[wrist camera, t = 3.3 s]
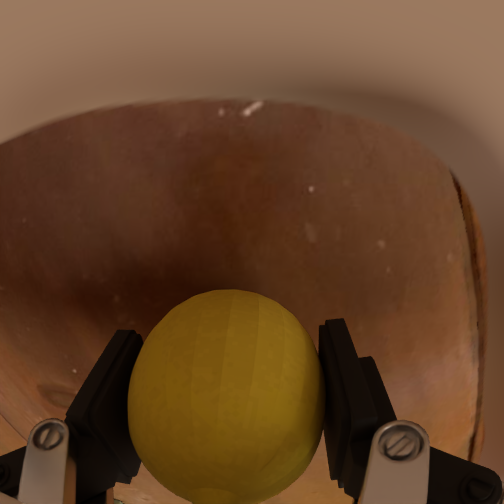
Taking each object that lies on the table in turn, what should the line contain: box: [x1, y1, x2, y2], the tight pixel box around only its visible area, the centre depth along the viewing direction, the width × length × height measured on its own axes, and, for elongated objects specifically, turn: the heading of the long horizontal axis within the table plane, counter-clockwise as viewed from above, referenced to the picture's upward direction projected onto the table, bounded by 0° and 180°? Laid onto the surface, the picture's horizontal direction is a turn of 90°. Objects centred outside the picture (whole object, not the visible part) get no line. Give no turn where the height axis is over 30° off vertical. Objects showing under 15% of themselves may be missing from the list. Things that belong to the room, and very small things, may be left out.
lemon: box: [128, 289, 326, 504], centre depth 9 cm, size 6×6×8 cm
